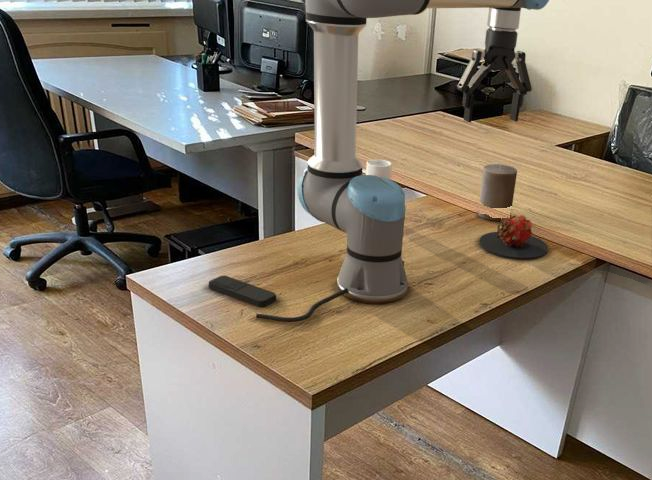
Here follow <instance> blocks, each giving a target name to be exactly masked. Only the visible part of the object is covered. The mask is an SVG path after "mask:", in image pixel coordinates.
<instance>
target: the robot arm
mask: <svg viewBox="0 0 652 480" xmlns="http://www.w3.org/2000/svg"><path fill="white" fill-rule="evenodd" d="M549 1H550V0H300V2H302V3H303V5H304V6H305V22H306V23H307V24H308V26H309V27H310V28H311V29H312V31H313V78H314V79H313V86H314V87H313V91H314V92H313V95H314V96H313V97H314V101H313V102H314V103H313V104H314V107H313V108H314V113H313V115H314V153H313V155H312V156H311V157H310V158H309V159H308V160H307V167H306V168H305V169H304V170H303V172H302V174H303V175H301V176H300V177H299V179H298V183H297V196H298V200H299V203H300V205H301V207H302V208H303V209H304V211H305V212H306V213H308V214H309V215H310V216H312V217H313V218H314V219H315V220H317V221H319V222H320V223H324V224H327V225H328V226H331V227H332V228H335V229H337V230H339V231H340V232H343V233H345V234H346V255H345V257H344V260H343V262H342V265H341V268H340V271H339V273H338V276H337V280H336V281H337V285H336V287H337V288H336V289H337V290H338V291H337V292H335V293H333V294H330V295H329V296H326V297H324V298H322V299H320V300H319V301H317V302H315V303H313V304H312V305H311V307H310V308H309V309H308V311H307V312H306V313H305V314H303V315H300V316H294V317H293V316H292V317H291V316H290V317H289V316H287V317H286V316H278V315H271V314H264V313H256V314H255V318H256V319H260V320H261V319H262V320H268V321H273V322H279V323H280V322H282V323H297V322H302V321H305V320H308V319H309V318H310V317H311V316H313V313H314V312H315V310H317V309H318V308H319V307H321V306H322V305H325V304H326V303H329V302H331V301H333V300H336V299H337V298H339V297H342V296H344V297H345V298H347V299H349V300H352V301H355V302H359V303H364V304H388V303H393V302H396V301H398V300H401V299H402V298H404V297H405V296H406V295H407V293H408V288H409V287H408V286H409V282H408V281H409V280H408V276H407V274H406V269H405V260H403V258H402V251H403V241H404V229H405V220H406V219H405V218H406V195H405V194H406V193H405V191H404V189H403V188H402V187H401V185H399V183H397V182H395V181H393V180H392V179H391V180H390V179H387V178H384V177H377V176H374V175H366V174H363V167H364V165H363V162H362V161H361V160H360V159H359V157H357V154H356V153H357V117H358V115H357V111H358V110H357V108H358V106H357V105H358V70H359V69H358V67H359V64H358V63H359V62H358V61H359V34H360V32H361V31H363V29H364V28H365V27H367V19H378V18H389V17H398V16H416V15H420V14H423V13H424V12H425V11H426V10H427V9H485V8H486V9H487V8H488V15H487V23H486V24H487V27H489V28H487V29H486V30H485V31H486V32H485V40H484V46H485V47H484V50H483V51H481V50H479V49H477V48H476V49H475V48H474V49H472V52H471V56H470V60H469V62H468V64H467V66H466V68H465V69H464V72H463V74H462V76H461V78H460V79H459V82H458V83H457V84H456V89H457V90H458V91H461V92H462V94H463V96H462V107H463V108H464V111H463V113H464V114H463V120H464V121H466V122H467V123H472V122H473V121H472V120H473V113H474V112H473V111H474V102H475V94H474V91H475V90H476V89H477V88H478V86H479V85H480V84H481V83H482V81H483V80H484V79H485V77H486V76H487V75H488V74H489V73H491V72H499V71H500V72H505V73H506V74H507V77H508V78H509V80H510V82H511V84H512V86H513V87H514V89H515V91H516V92H513V93H512V100H511V105H510V108H511V109H510V114H509V120H511V121H514V122H519V117H520V115H519V114H520V109H521V108H522V107H523V105H524V104H523V103H524V97H525V96H526V95H527V94H528V92H529V93H530V92H532V90H533V88H532V87H533V86H532V83H531V80H530V76H529V71H528V68H527V64H526V56H527V55H526V52H524V51H521V50H517V51H516V52H515V49H516V47H517V43H518V31H517V30H518V29H520V20H521V11H522V9H525V10H526V9H527V10H528V11H531V10H533V11H535V10H536V11H539V10H543V9H544V8H545V7H546V6H547V5H548V3H549ZM482 60H484V61H482ZM481 61H482V63H481ZM514 61H515V63H516V67H517V71H518V74H517V72H516V69H515V67H514V65H513V62H514ZM480 63H481V65H480ZM479 65H480V66H479ZM478 67H479V69H478ZM477 69H478V70H477ZM518 75H519V76H518Z"/></svg>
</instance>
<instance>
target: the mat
mask: <svg viewBox="0 0 652 480" xmlns="http://www.w3.org/2000/svg"><path fill="white" fill-rule="evenodd" d="M497 236H498V234H497V231H491V232H488V233H484V234H483V235H481V236H480V237H479V239H478V245H479V246H480V248H481V249H482V250H484V251H485V252H487V253H488V254H491V255H493V256H496V257H500V258H503V259H509V260H518V261H530V260H536V259H540V258H543V257H545V256H546V255H547V254H548V252H549V247H548V245H547V244H546V242H544V241H543V240H542V239H539V238H537V237H536V236H533V235H531V237H530V238H529V239H528V240H527V241H526V242H525V244H523V246H522V247H521V246H516V245H514V244H513V245H512V246H507V245H506V244H504V243H503V240H501V239H499V238H497Z"/></svg>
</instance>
